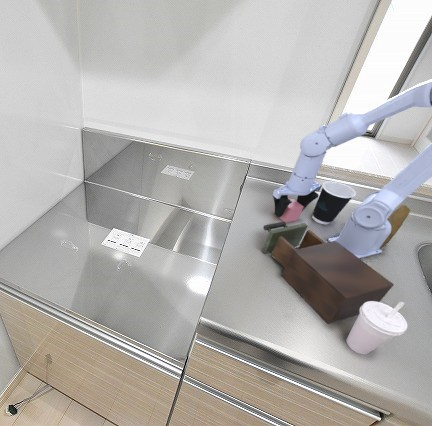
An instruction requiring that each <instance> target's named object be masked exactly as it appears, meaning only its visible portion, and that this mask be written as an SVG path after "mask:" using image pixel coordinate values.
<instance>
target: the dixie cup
mask: <svg viewBox="0 0 432 426" xmlns="http://www.w3.org/2000/svg"><path fill="white" fill-rule="evenodd" d="M321 185H322V187H321V190H320V193H319V196H318V198H317V200H316V204H315V206H314V209H313V211H312V220H313V221H315V222H316V223H317V224H320V225H330V224H331V223H332V222H333V221H334V220H336V218H337V216H339V214H340V213H341V212H342V211H343V209H345V208H346V206H347V204H348V203H350V201H351V200H352V199H353V198H355V197H356V196H357V192H356V190H355V189H354V188H353V187H351V186H349V185H347V184H345V183H341V182H338V181H326V182H323V184H321Z"/></svg>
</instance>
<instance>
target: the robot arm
mask: <svg viewBox="0 0 432 426" xmlns="http://www.w3.org/2000/svg"><path fill="white" fill-rule="evenodd" d="M411 108H432V78H431V79H428V80H426V81H424V82H421V83H419V84H416V85H414V86H413V87H411V88H409V89H406V90H405V91H403V92H401V93H399V94H397V95H395V96H393V97H392V98H389V99H388V100H386V101H383V102H382V103H380V104H378V105H376V106H374V107H373V108H370V109H369V110H367V111H365V112H357V111H352V112H350V113H348V112H344V113H343V114H341V115H339V116H338V118H339V119H336V120H334V121H332V122H331V123H328V124H326V125H325V124H323V125H320V126H319V127H318V129H316V130H314V131H313V132H310V133H308V134H307V135H306V136H304V137H303V138H302V139H301V141H300V144H299V149H300V152H299V155H298V157H297V159H296V162H295V164H294V167H293V169H292V172H291V174H290V177H289V179H288V180H286V181H285V184H284V185H282V186H280V187H278V188H276V189H274V190H273V192H272V198H273V202H274V212H273V213H274V215H275V216H276V217H278V218H279V217H281V216H282V215H283V213H284V211H285V209H286V208H287V207H288V205H289V204H290V203H292V201H290V200H289V199H290V198H289V197H288V196H297V197H296V201H297V202H298V203H299V204H301V205H302V206H304V207H303V210H302V212H304V210H305V209H306V208H307V207H308V206H309V205H310V204H311V203H312V202H313V201H315V200H316V199H318V198H319V196H320V193H318V192H319V191H320V192H321V190H322V188H323V187H322V185H323V184H321V183H319V182H318V181H315V180H316V178H317V175H318V174H319V171H320V169H321V167H322V164H323V162H324V159H325V156H326V155H327V151H328V150H330V149H331V148H336V147H338V146H341V145H343V144H345V143H347V142H350V141H352V140H354V139H356V138H359V137H361V136H363V135H365V134H366V133H367V132H368V130H369V127H370V126H371V125H374V124H376V123H378V122H380V121H383V120H385V119H388V118H390V117H392V116H395V115H397V114H399V113H402V112H405V111H406V110H409V109H411ZM431 178H432V142H431V143H429V144H428V145H427V146H426V147H425V148H424V149H423V150H422V151H421V152H420V153H418V154H417V156H416V157H414V159H412V160H411V161H409V163H408V164H407V165H406V166H404V168H402V169H401V170H400V172H398V173H397V174H396V175H395V176H394V177H393V178H392V179H391V180H389V182H388V183H386V184H385V185H384V186H383V187H382V188H380V189H379V190H376V191H373V192H370V193H369V194H368V195H367V196H366V197H365V199H364V200H363V201H362V202H361V203H360V204H359V205H357V206H356V207H355V208H354V209H353V211H352V213H351V214H350V217H349V218H348V219H347V221H346V223H345V225H344V227H343V228H342V230H341V232H340V233H339V235H338V236H333V237H330V238H328V239H327V242H331V241H337V242H338V243H339V244H341V245H342V246H343V247H345V248H346V249H347V250H349V251H350V252H351V253H353V254H354V255H355V256H357V257H358V258H359V259H363V258H367V257H370V256H371V257H372V256H374V255H379V254H382V253H383V251H382V249H381V245H382V244H383V243H384V241H385V240H386V238H387V237H388V236H389V234H390V233H391V224H390V222H389V221H388V220H387V219H388V218H389V217H390V215H391V214H392V213H393V212H394V211H395V210H396V209H397V207H399V205H401V203H402V202H403V201H405V199H407V198H408V197H409V196H410V195H412V194H413V193H414V192H416V191H417V190H418V189H419V188H420V187H421V186H422V185H424V184H425V183H426V182H427V181H428V180H429V179H431Z"/></svg>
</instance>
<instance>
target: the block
mask: <svg viewBox="0 0 432 426" xmlns="http://www.w3.org/2000/svg"><path fill="white" fill-rule="evenodd" d="M288 199H289V200H290V201H292V203H290V204H289V205H288V207H287V208H286V209H285V211H284V213H283V215H282V216H281V217H278V218H279V219H280V220H281V221H282V222H283V221H284V222H286V223H291V222H295V221H299V218H300V217H301V214H302V213H303V211H304V210H303V207H304V206H302V205H301V204H299V203H298V202H297V200H296V199H294V198H288ZM302 210H303V211H302Z"/></svg>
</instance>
